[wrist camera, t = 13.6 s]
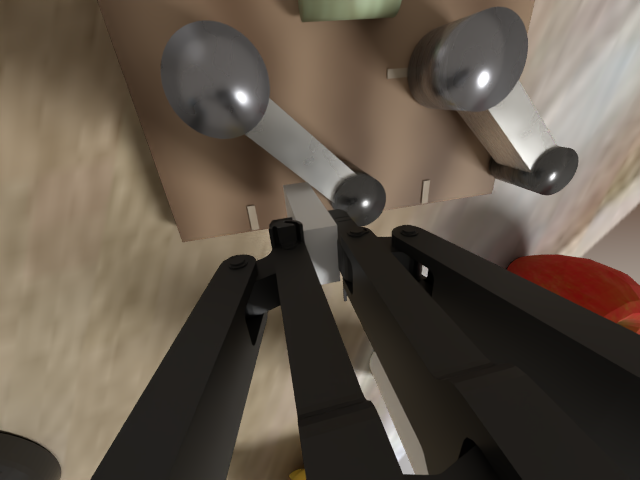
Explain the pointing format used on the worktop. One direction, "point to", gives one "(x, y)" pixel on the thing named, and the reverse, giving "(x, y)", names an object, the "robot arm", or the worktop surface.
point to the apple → (585, 285)
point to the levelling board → (304, 104)
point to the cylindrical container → (399, 418)
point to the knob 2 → (491, 96)
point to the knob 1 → (255, 113)
